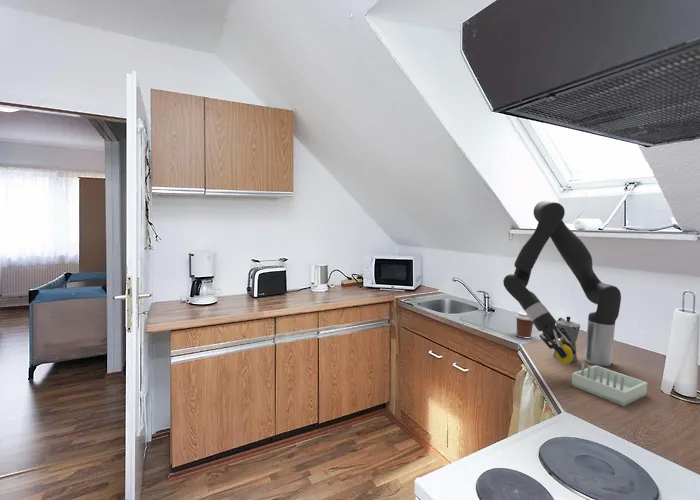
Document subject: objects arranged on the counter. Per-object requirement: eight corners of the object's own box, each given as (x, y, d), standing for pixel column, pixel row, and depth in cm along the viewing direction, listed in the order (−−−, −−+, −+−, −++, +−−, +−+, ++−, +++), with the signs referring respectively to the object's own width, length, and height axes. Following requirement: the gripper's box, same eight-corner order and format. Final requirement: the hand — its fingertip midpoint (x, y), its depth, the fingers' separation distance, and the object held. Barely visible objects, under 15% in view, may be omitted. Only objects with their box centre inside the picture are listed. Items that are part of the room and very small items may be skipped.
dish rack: (594, 376, 134) (596, 355, 134) (646, 395, 121) (648, 372, 120) (571, 385, 126) (573, 363, 126) (623, 406, 113) (626, 381, 112)
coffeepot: (584, 364, 146) (588, 321, 144) (559, 362, 147) (563, 320, 146) (567, 350, 161) (570, 312, 159) (545, 349, 162) (548, 310, 161)
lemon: (562, 368, 131) (564, 347, 130) (551, 362, 136) (553, 342, 135) (575, 367, 132) (577, 346, 131) (564, 361, 137) (565, 341, 136)
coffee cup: (537, 338, 177) (539, 315, 176) (522, 339, 175) (524, 315, 174) (525, 333, 186) (526, 310, 184) (509, 333, 183) (511, 311, 182)
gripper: (536, 314, 135) (567, 355, 126) (557, 309, 142) (587, 347, 133) (522, 323, 140) (551, 364, 131) (543, 318, 147) (571, 356, 138)
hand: (569, 355), depth 132 cm, fingers closed on lemon, 5 cm apart
